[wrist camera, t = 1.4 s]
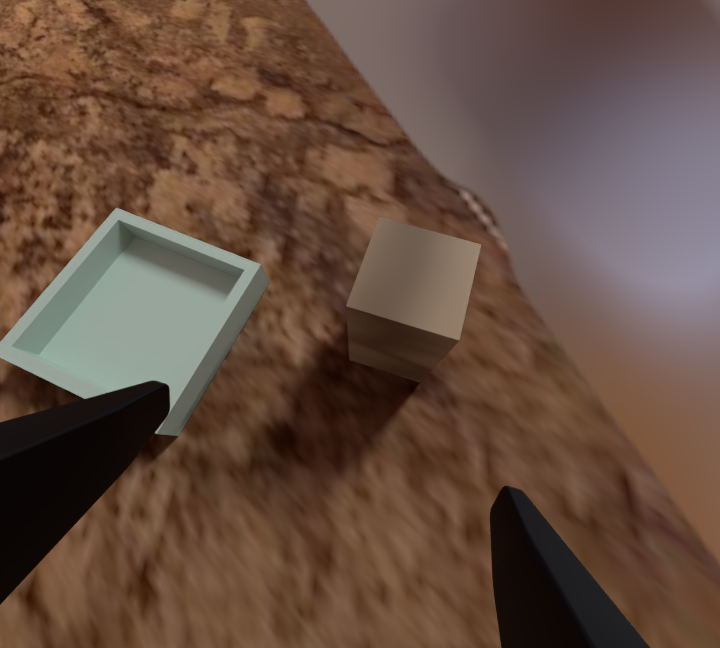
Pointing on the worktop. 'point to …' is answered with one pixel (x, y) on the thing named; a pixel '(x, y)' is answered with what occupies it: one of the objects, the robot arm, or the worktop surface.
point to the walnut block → (409, 299)
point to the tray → (138, 315)
